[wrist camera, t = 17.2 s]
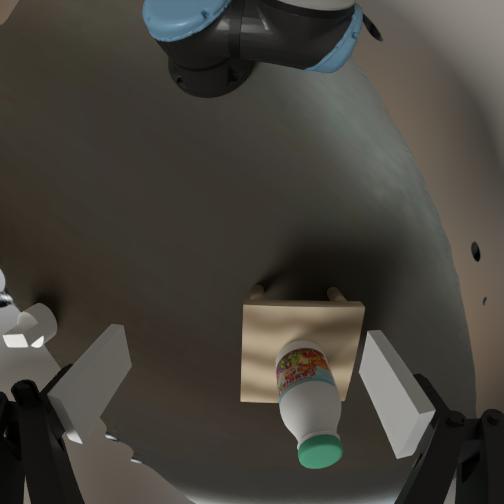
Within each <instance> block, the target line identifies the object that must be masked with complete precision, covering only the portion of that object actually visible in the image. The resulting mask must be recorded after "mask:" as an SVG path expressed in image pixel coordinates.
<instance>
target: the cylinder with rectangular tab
mask: <svg viewBox="0 0 504 504" xmlns="http://www.w3.org/2000/svg"><path fill="white" fill-rule="evenodd" d="M56 332H57V322H56V319H55V317H54V315H53V313H52V312H51V310H50V309H49V308H48V307H47V306H45V305H44V304H41V303H37V304H35V305H33V306H31V307H30V308H28V309H26V310H25V311H23V312H21V313H20V314H19V316H18V325H17V326H16V327H14V328H13V329H11V330H10V331H8V332H7V333H5V334H4V335H3V337H4V340H5V342H6V345H7V346H8V347H29V346H30V345H31V346H33V347H41V346H42V345H43V344H44V343H46V342H47V341H48V340H49V339H51V338H52V337H53V336H54V335H55V334H56Z"/></svg>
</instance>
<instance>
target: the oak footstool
mask: <svg viewBox="0 0 504 504" xmlns="http://www.w3.org/2000/svg"><path fill="white" fill-rule="evenodd" d="M327 297H328V298H329V300H330V301H298V300H267V299H265V298H264V288H263V287H262V286H261V285H254V286H253V287H252V288H251V295H250V299H244V304H243V334H242V370H241V401H243V402H269V403H279V398H278V388H277V377H276V358H277V355H278V353H279V352H280V351H281V349H283V348H284V347H285V346H286V345H288V344H289V343H292V342H294V341H299V340H307V341H311V342H314V343H316V344H317V345H319V346H320V347H321V348H322V350H323V352H324V354H325V356H326V359H327V361H328V364H329V367H330V369H331V372H332V375H333V377H334V380H335V383H336V386H337V389H338V392H339V396H340V400H341V401H345V398H346V394H347V390H348V386H349V382H350V378H351V374H352V370H353V366H354V361H355V357H356V352H357V348H358V343H359V338H360V333H361V328H362V323H363V317H364V312H365V306H364V305H363V304H362V303H361V302H360V301H347V300H346V299H345V298H344V296H343V295H342V294H341V292H340V291H339V290H338V289H337V288H336V287H331V288H329V289H328V291H327Z"/></svg>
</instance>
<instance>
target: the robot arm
mask: <svg viewBox="0 0 504 504" xmlns="http://www.w3.org/2000/svg"><path fill="white" fill-rule="evenodd" d="M355 1H356V0H145V2H144V5H143V19H144V22H145V23H146V25H147V27H148V30H149V33H150V34H151V35H152V37H154V39H155V40H156V41H157V42H158V44H159V45H160V46H161V47H162V49H163V50H164V51H165V53H166V54H167V55H168V56H169V59H168V67H169V72H170V75H171V77H172V79H173V80H174V82H175V83H176V84H177V85H178V86H179V88H181V89H182V90H183V91H184V92H186V93H188V94H190V95H193V96H196V97H202V98H212V97H218V96H222V95H225V94H227V93H229V92H231V91H233V90H235V89H236V88H238V87H239V86H240V85H241V84H242V83H243V82H244V81H245V80H246V79H247V77H248V75H249V74H250V71H251V69H252V65H253V61H260V62H266V63H272V64H277V65H283V66H288V67H293V68H297V69H301V70H303V71H304V70H305V71H316V72H321V73H332V72H335V71H337V70H338V69H340V68H341V67H342V66H343V65H344V64H345V62H346V61H347V60H348V58H349V56H350V55H351V53H352V51H353V49H354V47H355V45H356V42H357V36H358V35H359V33H360V30H361V26H362V21H363V13H362V9H361V7H360V6H359V5H358V4H356V3H355ZM131 367H132V365H131V360H130V356H129V351H128V347H127V342H126V337H125V332H124V326H123V325H116V324H111V325H110V326H109V327H108V328H107V329H106V330H105V331H104V332H103V333H102V335H101V336H100V337H99V338H98V339H97V340H96V341H95V342H94V343H93V344H92V345H91V346H90V347H89V348H88V349H87V351H86V352H85V353H84V354H83V355H82V356H81V357H80V358H79V359H78V360H77V361H76V363H75V364H74V365H73V364H69V365H67V366H65V367H64V368H62V369H61V370H60V371H59V372H58V373H57V376H55V377H54V378H53V380H51V381H50V382H49V383H48V384H47V385H46V387H45V388H44V389H43V390H42V391H41V392H40V393H39V391H38V388H37V386H36V384H35V382H33V381H31V380H21V381H18V382H17V383H15V384H14V385H13V387H12V388H11V392H12V394H13V396H14V398H15V400H16V402H13V401H9V400H8V398H7V396H6V394H5V393H3V392H0V504H23V500H24V482H25V477H26V482H27V487H28V492H29V497H30V501H31V504H85V503H84V500H83V498H82V495H81V493H80V490H79V487H78V484H77V482H76V479H75V476H74V473H73V470H72V467H71V463H70V460H69V457H68V453H67V451H66V447H65V443H64V440H63V438H62V435H63V433H64V432H66V434H67V435H68V438H69V439H70V440H72V441H75V442H78V443H81V444H84V442H85V440H86V439H87V437H88V435H89V434H90V432H91V430H92V428H93V427H94V425H95V424H96V422H97V420H98V419H99V417H100V416H101V414H102V412H103V411H104V409H105V408H106V406H107V404H108V403H109V401H110V400H111V398H112V396H113V395H114V393H115V392H116V390H117V388H118V387H119V385H120V384H121V382H122V381H123V379H124V377H125V376H126V374H127V373H128V371H129V370H130V368H131ZM359 373H360V375H361V378H362V380H363V382H364V384H365V386H366V388H367V391H368V393H369V395H370V397H371V400H372V402H373V404H374V406H375V409H376V411H377V413H378V415H379V418H380V420H381V422H382V425H383V427H384V429H385V432H386V434H387V436H388V439H389V441H390V443H391V446H392V448H393V451H394V453H395V455H396V458H397V459H398V458H402V457H406V456H410V455H413V453H414V451H415V450H416V448H417V446H418V448H419V450H420V452H421V453H420V454H419V456H418V458H417V459H416V461H415V462H414V464H413V466H412V467H413V469H412V471H411V473H410V475H409V477H408V479H407V481H406V483H405V485H404V487H403V489H402V491H401V492H400V494H399V496H398V498H397V500H396V501H395V503H394V504H443V503H444V501H445V498H446V495H447V493H448V490H449V487H450V484H451V482H452V479H453V476H454V472H455V469H456V466H457V479H456V497H455V504H504V414H503V413H502V412H501V411H498V410H496V409H488V410H486V411H484V413H483V414H482V416H481V418H479V419H466V417H465V416H464V415H463V414H462V413H460V412H457V411H452V410H449V408H448V407H447V406H446V404H445V403H444V401H443V400H442V398H441V397H440V396H439V394H438V393H436V390H435V389H434V387H432V384H431V383H430V382H429V380H428V379H427V378H425V377H424V376H422V375H421V374H415V375H412V374H411V372H410V371H409V369H408V368H407V366H406V365H405V363H404V362H403V361H402V359H401V358H400V356H399V355H398V354H397V352H396V351H395V349H394V348H393V346H392V345H391V344H390V342H389V341H388V340H387V338H386V337H385V335H384V334H383V333H382V331H381V330H374V331H368V332H367V337H366V343H365V348H364V352H363V357H362V362H361V366H360V371H359Z"/></svg>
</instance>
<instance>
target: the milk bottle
mask: <svg viewBox="0 0 504 504" xmlns="http://www.w3.org/2000/svg"><path fill="white" fill-rule="evenodd" d="M276 377H277V388H278V398H279V406H280V412H281V416H282V419H283V421H284V423H285V425H286V426H287V428H288V429H289V430H290V431H291V432H292V433H293V434H294V436H295V437H296V438H297V440H298V442H299V443H298V446H297V449H298V457H299V461H300V463H301V464H302V465H303V466H305V467H308V468H323V467H327V466H330V465H332V464H334V463H335V462H337V461H338V460H339V459H340V458H341V456H342V454H343V448H342V444H341V441H340V437H339V435H338V434H336V429H337V424H338V421H339V418H340V414H341V400H340V396H339V392H338V389H337V386H336V383H335V380H334V377H333V375H332V372H331V369H330V367H329V364H328V361H327V359H326V356H325V354H324V352H323V350H322V348H321V347H320V346H319V345H317V344H316V343H314V342H311V341H307V340H299V341H294V342H292V343H289V344H288V345H286V346H285V347H284V348H283V349H281V351H280V352H279V353H278V355H277V358H276Z"/></svg>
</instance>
